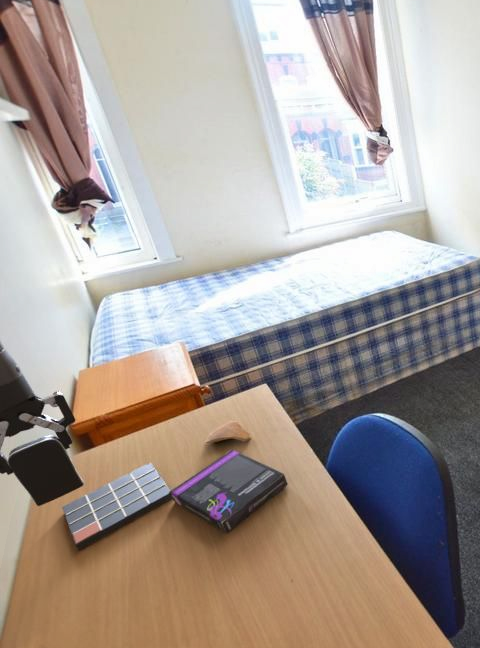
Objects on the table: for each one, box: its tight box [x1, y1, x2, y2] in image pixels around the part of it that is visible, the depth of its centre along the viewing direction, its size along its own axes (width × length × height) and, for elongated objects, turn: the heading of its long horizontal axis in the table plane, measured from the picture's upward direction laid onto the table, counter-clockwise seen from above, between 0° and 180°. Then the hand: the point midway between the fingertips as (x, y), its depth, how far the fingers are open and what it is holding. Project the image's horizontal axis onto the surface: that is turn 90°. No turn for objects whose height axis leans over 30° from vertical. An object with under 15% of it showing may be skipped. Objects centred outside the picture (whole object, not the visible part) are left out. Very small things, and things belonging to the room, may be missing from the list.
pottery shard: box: [205, 420, 252, 445], centre depth 117 cm, size 10×9×2 cm
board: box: [61, 462, 173, 551], centre depth 99 cm, size 16×16×2 cm
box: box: [169, 449, 288, 534], centre depth 98 cm, size 14×4×20 cm
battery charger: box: [7, 434, 85, 507], centre depth 84 cm, size 7×4×11 cm, turn 136°
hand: (39, 459), depth 83 cm, fingers closed on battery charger, 7 cm apart
